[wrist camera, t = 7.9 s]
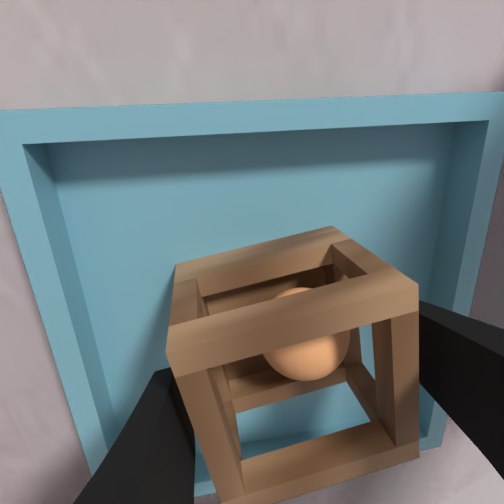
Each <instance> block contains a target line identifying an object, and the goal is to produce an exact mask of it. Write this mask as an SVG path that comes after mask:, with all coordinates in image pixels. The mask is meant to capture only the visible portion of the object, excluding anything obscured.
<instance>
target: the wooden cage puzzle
mask: <svg viewBox="0 0 504 504" xmlns="http://www.w3.org/2000/svg"><path fill="white" fill-rule="evenodd" d="M300 287H305V288H312V289H309V290H306V291H302V292H298V293H294V294H290V295H287V296H283V297H279V298H275V299H273V298H274V297H275V296H276V295H278V294H280V293H281V292H283V291H286V290H289V289H292V288H300ZM368 324H371V326H372V340H373V355H374V369H375V379H374V378H373V377H372V375H371V374H370V373H369V371H368V370H367V369H366V367H365V366H364V364H363V363H362V355H361V343H360V332H359V327H360V326H364V325H368ZM346 330H349V331H350V342H349V347H348V351H347V353H346V356H345V358H344V359H343V361H342V363H341V364H340V365H339V366H338V367H337V368H336V369H335V370H334V371H333V372H332V373H330V374H329V375H327V376H325V377H323V378H320V379H317V380H312V381H299V380H294V379H290V378H288V377H286V376H283V375H282V374H280V373H279V372H277V371H276V370H275V369H274V368H273V367H272V366H271V365H270V364H269V363H268V362H267V360H266V359H265V357H264V355H263V353H267V352H270V351H274V350H277V349H281V348H285V347H288V346H292V345H295V344H299V343H303V342H306V341H310V340H314V339H317V338H321V337H324V336H328V335H332V334H335V333H339V332H342V331H346ZM166 355H167V358H168V361H169V363H170V366H171V369H172V372H173V374H174V377H175V380H176V383H177V385H178V388H179V391H180V394H181V396H182V399H183V402H184V405H185V407H186V410H187V413H188V416H189V418H190V421H191V424H192V427H193V429H194V432H195V435H196V438H197V440H198V443H199V446H200V449H201V451H202V454H203V457H204V460H205V462H206V465H207V468H208V471H209V473H210V476H211V479H212V482H213V484H214V487H215V490H216V492H217V495H218V498H219V501H220V503H221V504H275V503H278V502H281V501H284V500H287V499H290V498H294V497H297V496H300V495H303V494H306V493H309V492H312V491H315V490H319V489H322V488H325V487H328V486H331V485H334V484H337V483H340V482H344V481H347V480H350V479H353V478H356V477H359V476H362V475H366V474H369V473H372V472H375V471H378V470H381V469H384V468H387V467H391V466H394V465H397V464H400V463H403V462H406V461H409V460H413V459H416V458H419V284H417V283H416V282H414V281H413V280H411V279H410V278H409V277H407V276H406V275H404V274H403V273H401V272H400V271H398V270H397V269H395V268H394V267H392V266H391V265H389V264H388V263H387V262H385V261H384V260H382V259H381V258H379V257H378V256H376V255H375V254H373V253H372V252H370V251H369V250H367V249H366V248H365V247H363V246H362V245H360V244H359V243H357V242H356V241H354V240H353V239H351V238H350V237H348V236H347V235H345V234H344V233H343V232H341V231H340V230H338V229H337V228H335V227H334V226H332V225H331V226H327V227H323V228H319V229H315V230H311V231H307V232H303V233H299V234H295V235H291V236H287V237H283V238H278V239H274V240H270V241H266V242H262V243H258V244H254V245H250V246H246V247H242V248H238V249H234V250H230V251H226V252H222V253H218V254H214V255H209V256H205V257H201V258H197V259H193V260H189V261H185V262H181V263H177V264H176V268H175V277H174V285H173V294H172V302H171V311H170V319H169V327H168V336H167V344H166ZM344 382H347V384H348V385H349V387H350V388H351V390H352V392H353V393H354V395H355V397H356V398H357V400H358V401H359V403H360V405H361V406H362V408H363V410H364V411H365V413H366V414H367V416H368V418H369V419H370V422H367V423H364V424H360V425H357V426H354V427H350V428H347V429H344V430H341V431H337V432H334V433H331V434H328V435H324V436H321V437H318V438H314V439H311V440H308V441H305V442H301V443H298V444H295V445H291V446H288V447H285V448H282V449H278V450H275V451H272V452H268V453H265V454H262V455H259V456H255V457H252V458H249V459H245V460H243V458H242V452H241V446H240V439H239V433H238V426H237V420H236V414H237V413H241V412H244V411H248V410H251V409H254V408H258V407H261V406H265V405H268V404H272V403H275V402H278V401H282V400H285V399H289V398H292V397H296V396H299V395H302V394H306V393H309V392H313V391H316V390H320V389H323V388H326V387H330V386H333V385H337V384H340V383H344Z"/></svg>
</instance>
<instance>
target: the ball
mask: <svg viewBox="0 0 504 504" xmlns="http://www.w3.org/2000/svg"><path fill="white" fill-rule="evenodd" d="M309 289H312V288H305V287H300V288H292V289H289V290H286V291H283V292H281V293H280V294H278V295H276V296H275V297H274V298H273V299H275V298H279V297H283V296H287V295H290V294H294V293H298V292H302V291H306V290H309ZM349 342H350V331H349V330H346V331H342V332H339V333H335V334H332V335H328V336H324V337H321V338H317V339H314V340H310V341H306V342H303V343H299V344H295V345H292V346H288V347H285V348H281V349H277V350H274V351H270V352H267V353H263V355H264V357H265V359H266V360H267V362H268V363H269V364H270V365H271V366H272V367H273V368H274V369H275V370H276V371H277V372H279V373H280V374H282V375H283V376H286V377H288V378H290V379H294V380H299V381H312V380H317V379H320V378H323V377H325V376H327V375H329V374H330V373H332V372H333V371H334V370H335V369H336V368H337V367H338V366H339V365H340V364H341V363H342V361H343V359H344V358H345V356H346V353H347V351H348V347H349Z"/></svg>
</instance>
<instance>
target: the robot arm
mask: <svg viewBox="0 0 504 504" xmlns="http://www.w3.org/2000/svg"><path fill="white" fill-rule="evenodd" d="M419 383H420V384H421V385H422V386H423V388H424V389H425V390H426V391H427V392H428V393H429V394H430V395H431V397H432V398H433V399H434V400H435V401H436V402H437V403H438V404H439V406H440V407H441V408H442V409H443V410H444V411H445V412H446V413H447V414H448V415H449V417H450V418H451V419H452V420H453V421H454V422H455V423H456V424H457V425H458V426H459V428H460V429H461V430H462V431H463V432H464V433H465V434H466V435H467V436H468V438H469V439H470V440H471V441H472V442H473V443H474V444H475V445H476V446H477V447H478V449H479V450H480V451H481V452H482V453H483V455H484V456H485V457H486V458H487V459H488V460H489V462H490V463H491V464H492V465H493V467H494V468H495V469H496V471H497V472H498V473H499V474H500V476H501V477H502V478H503V479H504V329H501V328H498V327H495V326H492V325H489V324H486V323H484V322H481V321H478V320H475V319H472V318H469V317H467V316H464V315H461V314H458V313H456V312H453V311H450V310H447V309H444V308H442V307H439V306H436V305H433V304H430V303H427V302H424V301H420V300H419ZM195 454H196V449H195V434H194V429H193V427H192V424H191V421H190V418H189V416H188V413H187V410H186V407H185V405H184V402H183V399H182V396H181V394H180V391H179V388H178V385H177V383H176V380H175V377H174V374H173V372H172V369H171V367H169V368H165V369H162V370H158V371H155V372H154V374H153V375H152V377H151V379H150V381H149V382H148V384H147V386H146V388H145V390H144V392H143V394H142V395H141V397H140V399H139V401H138V403H137V404H136V406H135V408H134V410H133V412H132V413H131V415H130V417H129V419H128V420H127V422H126V424H125V425H124V427H123V429H122V431H121V432H120V434H119V436H118V437H117V439H116V441H115V442H114V444H113V445H112V447H111V448H110V450H109V452H108V453H107V455H106V456H105V458H104V459H103V461H102V463H101V464H100V466H99V467H98V469H97V470H96V472H95V473H94V475H93V476H92V478H91V479H90V481H89V482H88V483H87V485H86V486H85V488H84V489H83V491H82V492H81V493H80V495H79V496H78V498H77V499H76V500H75V502H74V503H73V504H194V484H195Z"/></svg>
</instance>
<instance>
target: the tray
mask: <svg viewBox="0 0 504 504" xmlns="http://www.w3.org/2000/svg"><path fill="white" fill-rule="evenodd" d="M503 157H504V91H497V92H470V93H444V94H418V95H391V96H365V97H338V98H312V99H286V100H259V101H233V102H207V103H180V104H154V105H128V106H101V107H75V108H49V109H22V110H0V188H1V191H2V195H3V198H4V201H5V204H6V207H7V210H8V214H9V217H10V220H11V223H12V226H13V229H14V233H15V236H16V239H17V242H18V245H19V248H20V252H21V255H22V258H23V261H24V264H25V267H26V271H27V274H28V277H29V280H30V283H31V286H32V290H33V293H34V296H35V299H36V302H37V305H38V309H39V312H40V315H41V318H42V321H43V324H44V327H45V331H46V334H47V337H48V340H49V343H50V346H51V350H52V353H53V356H54V359H55V362H56V365H57V369H58V372H59V375H60V378H61V381H62V384H63V388H64V391H65V394H66V397H67V400H68V403H69V407H70V410H71V413H72V416H73V419H74V422H75V426H76V429H77V432H78V435H79V438H80V441H81V444H82V448H83V451H84V454H85V457H86V460H87V463H88V467H89V470H90V473H91V476H93V475H94V473H95V472H96V470H97V469H98V467H99V466H100V464H101V463H102V461H103V459H104V458H105V456H106V455H107V453H108V452H109V450H110V448H111V447H112V445H113V444H114V442H115V441H116V439H117V437H118V436H119V434H120V432H121V431H122V429H123V427H124V425H125V424H126V422H127V420H128V419H129V417H130V415H131V413H132V412H133V410H134V408H135V406H136V404H137V403H138V401H139V399H140V397H141V395H142V394H143V392H144V390H145V388H146V386H147V384H148V382H149V381H150V379H151V377H152V375H153V374H154V372H155V371H158V370H162V369H165V368H169V367H171V366H170V363H169V361H168V358H167V355H166V344H167V336H168V327H169V319H170V311H171V302H172V294H173V285H174V277H175V268H176V264H177V263H181V262H185V261H189V260H193V259H197V258H201V257H205V256H209V255H214V254H218V253H222V252H226V251H230V250H234V249H238V248H242V247H246V246H250V245H254V244H258V243H262V242H266V241H270V240H274V239H278V238H283V237H287V236H291V235H295V234H299V233H303V232H307V231H311V230H315V229H319V228H323V227H327V226H331V225H332V226H334V227H335V228H337V229H338V230H340V231H341V232H343V233H344V234H345V235H347V236H348V237H350V238H351V239H353V240H354V241H356V242H357V243H359V244H360V245H362V246H363V247H365V248H366V249H367V250H369V251H370V252H372V253H373V254H375V255H376V256H378V257H379V258H381V259H382V260H384V261H385V262H387V263H388V264H389V265H391V266H392V267H394V268H395V269H397V270H398V271H400V272H401V273H403V274H404V275H406V276H407V277H409V278H410V279H411V280H413V281H414V282H416V283H417V284H419V300H420V301H424V302H427V303H430V304H433V305H436V306H439V307H442V308H444V309H447V310H450V311H453V312H456V313H458V314H461V315H464V316H467V317H469V314H470V309H471V305H472V300H473V296H474V291H475V286H476V282H477V277H478V273H479V268H480V263H481V259H482V254H483V250H484V245H485V240H486V236H487V231H488V227H489V222H490V217H491V213H492V208H493V204H494V199H495V194H496V190H497V185H498V180H499V176H500V171H501V167H502V162H503ZM359 332H360V343H361V355H362V363H363V364H364V366H365V367H366V369H367V370H368V371H369V373H370V374H371V375H372V377H373V378H374V379H375V369H374V355H373V340H372V326H371V324H368V325H364V326H360V327H359ZM447 415H448V414H447V413H446V412H445V411H444V410H443V409H442V408H441V407H440V406H439V404H438V403H437V402H436V401H435V400H434V399H433V398H432V397H431V395H430V394H429V393H428V392H427V391H426V390H425V389H424V388H423V386H422V385H421V384H420V383H419V451H421V450H426V449H431V448H436V447H441V443H442V438H443V434H444V429H445V425H446V420H447ZM236 420H237V426H238V433H239V439H240V446H241V452H242V458H243V460H245V459H249V458H252V457H255V456H259V455H262V454H265V453H268V452H272V451H275V450H278V449H282V448H285V447H288V446H291V445H295V444H298V443H301V442H305V441H308V440H311V439H314V438H318V437H321V436H324V435H328V434H331V433H334V432H337V431H341V430H344V429H347V428H350V427H354V426H357V425H360V424H364V423H367V422H370V419H369V418H368V416H367V414H366V413H365V411H364V410H363V408H362V406H361V405H360V403H359V401H358V400H357V398H356V397H355V395H354V393H353V392H352V390H351V388H350V387H349V385H348V384H347V382H344V383H340V384H337V385H333V386H330V387H326V388H323V389H320V390H316V391H313V392H309V393H306V394H302V395H299V396H296V397H292V398H289V399H285V400H282V401H278V402H275V403H272V404H268V405H265V406H261V407H258V408H254V409H251V410H248V411H244V412H241V413H237V414H236ZM194 434H195V432H194ZM195 449H196V454H195V484H194V497H198V496H203V495H207V494H212V493H217V492H216V490H215V487H214V484H213V482H212V479H211V476H210V473H209V471H208V468H207V465H206V462H205V460H204V457H203V454H202V451H201V449H200V446H199V443H198V440H197V438H196V435H195Z"/></svg>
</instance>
